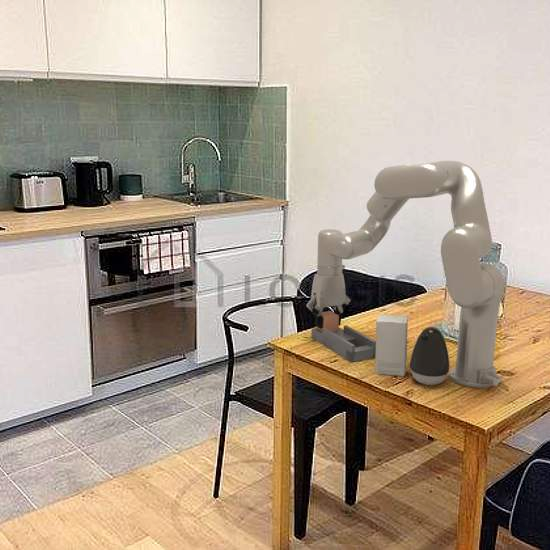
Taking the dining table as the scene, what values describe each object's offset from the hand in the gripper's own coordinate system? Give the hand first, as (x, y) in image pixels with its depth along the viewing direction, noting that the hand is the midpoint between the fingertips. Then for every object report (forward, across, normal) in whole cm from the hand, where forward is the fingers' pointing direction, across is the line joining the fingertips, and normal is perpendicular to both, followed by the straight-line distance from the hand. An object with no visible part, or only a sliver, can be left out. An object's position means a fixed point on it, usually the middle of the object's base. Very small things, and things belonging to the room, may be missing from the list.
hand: (328, 325), depth 202 cm
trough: (+4, 0, +9) cm, 10 cm away
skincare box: (+5, -2, +30) cm, 30 cm away
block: (+1, 0, 0) cm, 1 cm away
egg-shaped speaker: (+5, -7, +40) cm, 41 cm away
